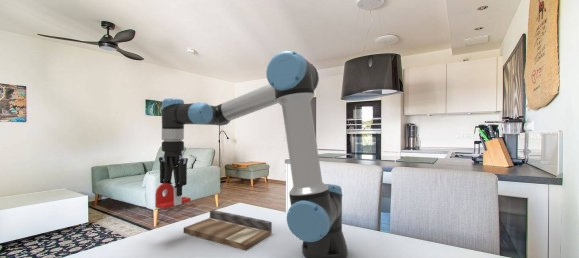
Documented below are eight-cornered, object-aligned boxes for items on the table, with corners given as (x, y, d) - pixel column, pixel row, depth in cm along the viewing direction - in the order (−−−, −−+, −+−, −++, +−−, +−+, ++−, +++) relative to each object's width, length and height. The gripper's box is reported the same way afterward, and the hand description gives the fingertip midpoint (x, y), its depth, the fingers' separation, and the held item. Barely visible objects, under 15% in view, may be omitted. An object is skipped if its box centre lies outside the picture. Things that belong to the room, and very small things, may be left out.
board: (271, 234, 103) (271, 221, 103) (245, 250, 89) (246, 236, 89) (213, 220, 119) (213, 209, 119) (183, 232, 105) (183, 220, 105)
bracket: (163, 209, 90) (163, 186, 90) (155, 207, 92) (155, 185, 92) (191, 200, 100) (191, 180, 100) (183, 199, 103) (183, 179, 103)
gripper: (197, 140, 95) (197, 204, 95) (167, 140, 104) (166, 198, 103) (180, 141, 88) (180, 209, 88) (148, 140, 97) (148, 203, 97)
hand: (173, 203), depth 96 cm, fingers closed on bracket, 4 cm apart
